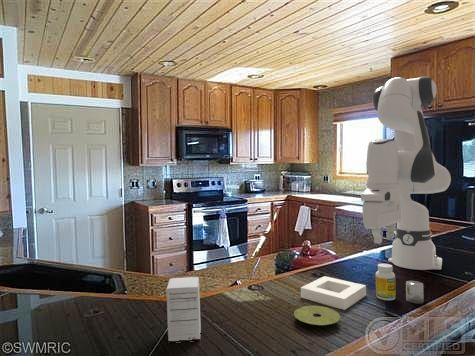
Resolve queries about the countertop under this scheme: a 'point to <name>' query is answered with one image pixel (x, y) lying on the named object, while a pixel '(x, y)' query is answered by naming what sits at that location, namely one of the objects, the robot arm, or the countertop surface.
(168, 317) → the supplement box
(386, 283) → the supplement bottle
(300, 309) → the green disc
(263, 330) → the countertop surface
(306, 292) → the bore plate
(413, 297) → the short stub
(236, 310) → the countertop surface
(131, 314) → the countertop surface
